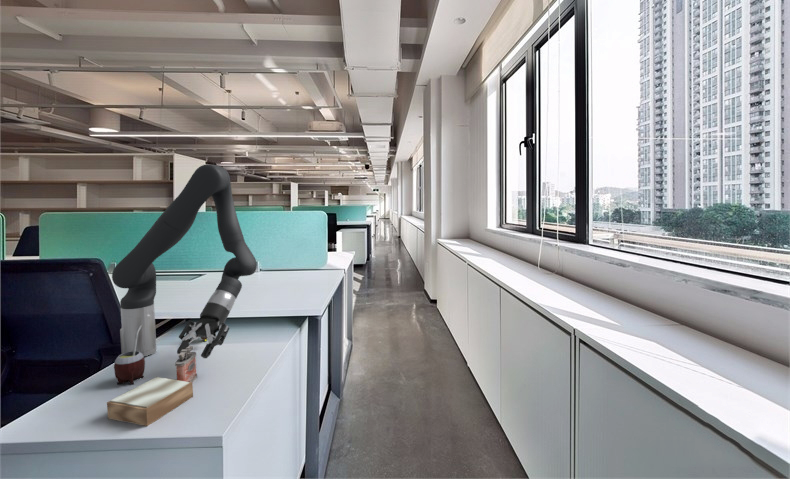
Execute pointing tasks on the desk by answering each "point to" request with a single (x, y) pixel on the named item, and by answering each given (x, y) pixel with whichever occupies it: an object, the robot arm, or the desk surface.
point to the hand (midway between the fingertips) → (191, 355)
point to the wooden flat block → (149, 401)
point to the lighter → (186, 365)
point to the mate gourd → (130, 365)
